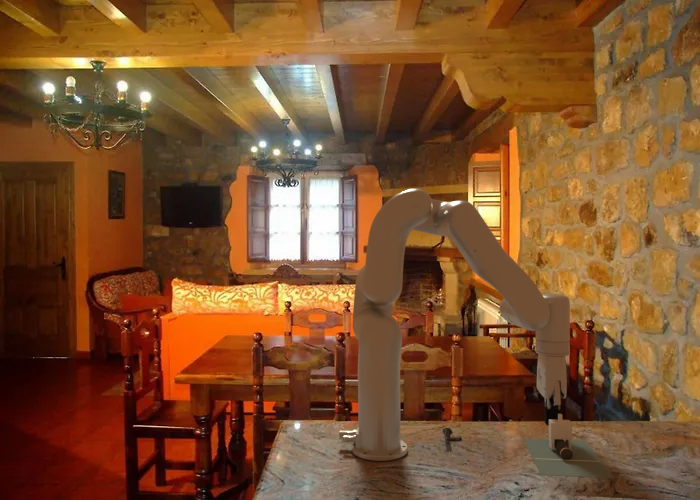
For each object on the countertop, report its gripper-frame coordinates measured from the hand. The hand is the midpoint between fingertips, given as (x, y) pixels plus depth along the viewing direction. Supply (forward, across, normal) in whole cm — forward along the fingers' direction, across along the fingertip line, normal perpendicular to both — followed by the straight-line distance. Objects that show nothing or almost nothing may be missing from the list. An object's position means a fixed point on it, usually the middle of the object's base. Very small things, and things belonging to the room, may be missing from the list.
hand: (552, 424), depth 132 cm
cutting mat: (+4, +11, 0) cm, 12 cm away
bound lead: (+3, +8, 0) cm, 9 cm away
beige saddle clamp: (+3, +7, 0) cm, 8 cm away
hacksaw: (+5, +7, -20) cm, 22 cm away
